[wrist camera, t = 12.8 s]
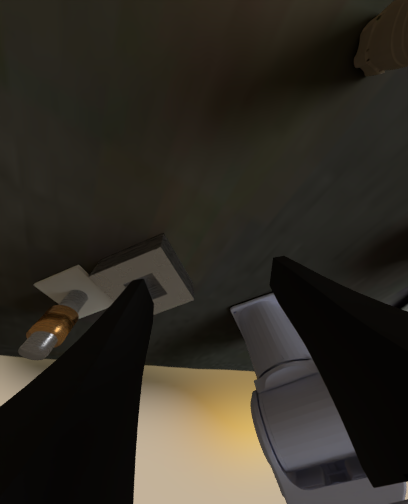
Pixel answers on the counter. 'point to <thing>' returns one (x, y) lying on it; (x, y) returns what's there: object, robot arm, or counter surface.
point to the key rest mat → (75, 280)
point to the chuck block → (146, 273)
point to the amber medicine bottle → (53, 326)
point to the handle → (384, 41)
